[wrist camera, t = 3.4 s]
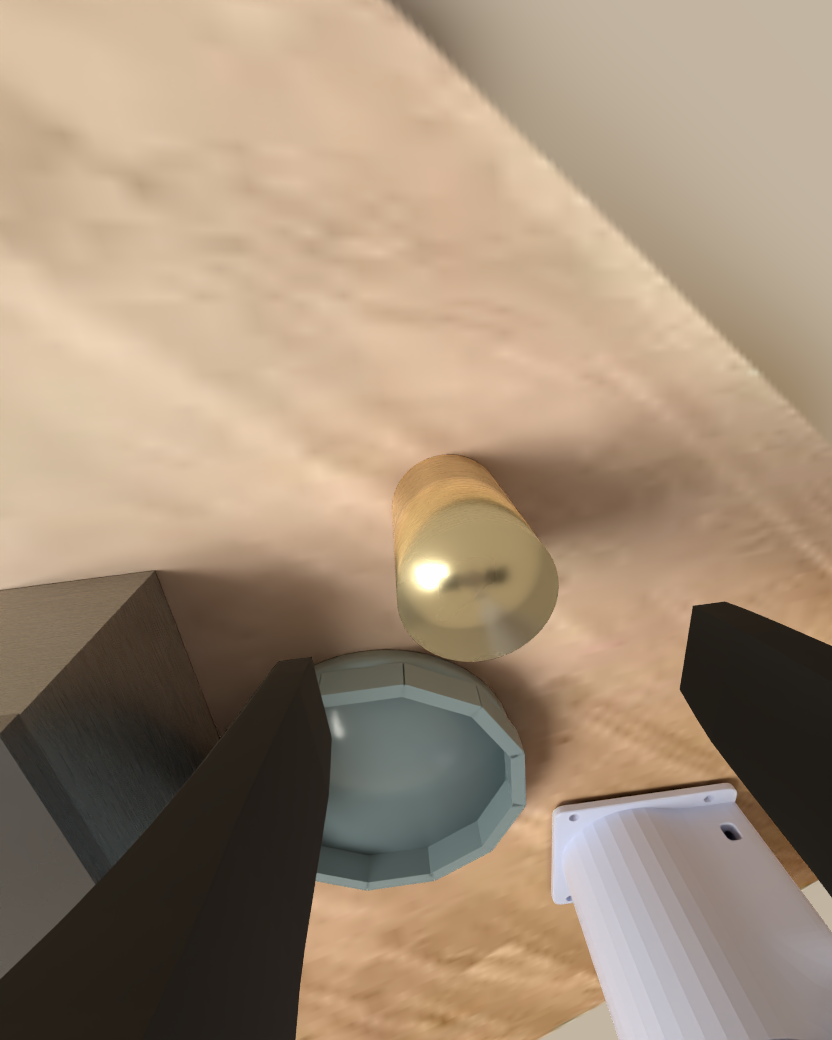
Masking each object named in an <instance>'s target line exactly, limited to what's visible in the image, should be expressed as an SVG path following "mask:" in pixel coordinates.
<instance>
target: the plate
mask: <svg viewBox="0 0 832 1040" xmlns="http://www.w3.org/2000/svg"><path fill="white" fill-rule="evenodd" d="M314 669H315V673H316V677H317V681H318V685H319V689H320V693H321V697H322V700H323V704H324V708H325V712H326V716H327V720H328V724H329V728H330V732H331V736H332V744H331V768H330V785H329V797H328V804H327V811H326V817H325V824H324V830H323V837H322V843H321V849H320V856H319V862H318V868H317V874H316V881H317V882H323V883H328V884H334V885H339V886H345V887H350V888H355V889H361V890H375V889H382V888H389V887H396V886H402V885H409V884H416V883H423V882H430V881H434V880H435V881H436V880H438V879H439V878H441V877H443V876H445V875H447V874H449V873H451V872H453V871H455V870H457V869H459V868H461V867H462V866H464V865H466V864H468V863H470V862H472V861H474V860H476V859H478V858H480V857H482V856H484V855H485V854H487V853H489V852H491V850H493V849H494V848H495V846H496V845H497V844H498V842H499V841H500V840H501V838H502V837H503V836H504V834H505V833H506V832H507V830H508V829H509V828H510V826H511V825H512V824H513V822H514V821H515V820H516V818H517V817H518V816H519V814H520V813H521V812H522V810H523V809H524V808H525V805H526V786H525V753H524V750H523V747H522V744H521V741H520V738H519V735H518V732H517V729H516V728H515V727H514V726H513V725H512V723H511V722H510V721H509V719H508V716H507V713H506V711H505V709H504V707H503V705H502V704H501V702H500V700H499V699H498V698H497V696H496V695H495V694H494V692H493V691H492V690H491V689H490V688H489V687H488V686H487V685H486V684H485V683H484V682H483V681H482V680H480V679H479V678H478V677H476V676H475V675H473V674H472V673H471V672H469V671H468V670H466V669H464V668H462V667H460V666H458V665H456V664H454V663H452V662H449V661H446V660H444V659H441V658H439V657H435V656H431V655H427V654H423V653H418V652H411V651H403V650H373V651H362V652H357V653H351V654H346V655H342V656H339V657H336V658H332V659H329V660H326V661H324V662H321V663H319V664H317V665H314Z"/></svg>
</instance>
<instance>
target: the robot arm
mask: <svg viewBox="0 0 832 1040" xmlns="http://www.w3.org/2000/svg"><path fill="white" fill-rule="evenodd" d="M680 691H681V692H682V694H683V696H684V698H685V699H686V701H687V703H688V704H689V706H690V708H691V710H692V711H693V713H694V715H695V717H696V718H697V720H698V721H699V723H700V725H701V726H702V728H703V729H704V731H705V732H706V734H707V736H708V737H709V739H710V740H711V742H712V743H713V744H714V746H715V747H716V748H717V750H718V751H719V752H720V754H721V755H722V756H723V758H724V759H725V760H726V762H727V763H728V764H729V765H730V767H731V768H732V769H733V771H734V772H735V773H736V775H737V776H738V777H739V778H740V780H741V781H742V782H743V784H744V785H745V786H746V787H747V789H748V790H749V791H750V793H751V794H752V795H753V796H754V798H755V799H756V800H757V801H758V803H759V804H760V805H761V807H762V808H763V809H764V810H765V812H766V813H767V814H768V815H769V817H770V818H771V819H772V821H773V822H774V823H775V824H776V826H777V827H778V828H779V829H780V831H781V832H782V833H783V835H784V836H785V837H786V838H787V840H788V841H789V842H790V843H791V845H792V846H793V847H794V849H795V850H796V851H797V852H798V854H799V855H800V856H801V857H802V859H803V860H804V861H805V863H806V864H807V865H808V866H809V868H810V869H811V870H812V871H813V873H814V874H815V875H816V877H817V878H818V880H819V881H820V882H821V884H822V885H823V886H824V887H825V889H826V890H827V891H828V893H829V894H830V896H831V897H832V646H830V645H828V644H826V643H824V642H821V641H819V640H817V639H814V638H812V637H810V636H808V635H805V634H803V633H801V632H798V631H796V630H794V629H791V628H789V627H787V626H784V625H782V624H780V623H778V622H775V621H773V620H770V619H768V618H766V617H763V616H761V615H759V614H756V613H754V612H751V611H749V610H746V609H744V608H741V607H738V606H736V605H733V604H730V603H727V602H719V603H711V604H704V605H696V606H693V609H692V615H691V622H690V628H689V634H688V641H687V647H686V653H685V660H684V666H683V672H682V678H681V685H680ZM331 744H332V736H331V732H330V728H329V724H328V720H327V716H326V712H325V708H324V704H323V700H322V697H321V693H320V689H319V685H318V681H317V677H316V673H315V669H314V665H313V661H312V657H308V658H300V659H293V660H285V661H279V662H278V663H277V664H276V665H275V667H274V668H273V669H272V671H271V672H270V673H269V674H268V676H267V677H266V678H265V680H264V681H263V683H262V684H261V685H260V687H259V688H258V689H257V691H256V692H255V693H254V695H253V696H252V698H251V699H250V700H249V702H248V703H247V704H246V706H245V707H244V708H243V710H242V711H241V712H240V714H239V715H238V716H237V718H236V719H235V720H234V722H233V723H232V724H231V726H230V727H229V728H228V730H227V731H226V732H225V734H224V735H223V736H222V737H221V739H220V740H219V741H218V743H217V744H216V745H215V746H214V748H213V749H212V750H211V752H210V753H209V754H208V755H207V757H206V758H205V759H204V761H203V762H202V763H201V764H200V766H199V767H198V768H197V769H196V771H195V772H194V773H193V774H192V776H191V777H190V778H189V779H188V780H187V782H186V783H185V784H184V785H183V786H182V787H181V789H180V790H179V791H178V792H177V793H176V795H175V796H174V797H173V798H172V799H171V801H170V802H169V803H168V804H167V805H166V807H165V808H164V809H163V810H162V811H161V812H160V814H159V815H158V816H157V817H156V818H155V820H154V821H153V822H152V823H151V824H150V825H149V827H148V828H147V829H146V830H145V831H144V832H143V833H142V835H141V836H140V837H139V838H138V839H137V840H136V841H135V842H134V844H133V845H132V846H131V847H130V848H129V849H128V850H127V851H126V852H125V854H124V855H123V856H122V857H121V858H120V859H119V860H118V861H117V862H116V863H115V864H114V866H113V867H112V868H111V869H110V870H109V871H108V872H107V873H106V874H105V875H104V876H103V877H102V878H101V879H100V880H99V881H98V882H97V884H96V885H95V886H94V887H93V888H92V889H91V890H90V891H89V892H88V893H87V894H86V895H85V896H84V897H83V898H82V899H81V900H80V901H79V902H78V903H77V905H76V906H75V907H74V908H73V909H72V910H71V911H70V912H69V913H68V914H67V915H66V916H65V917H64V918H63V919H62V920H61V921H60V922H59V923H58V924H57V925H56V926H55V927H54V928H53V929H52V930H51V931H50V932H48V933H47V934H46V935H45V936H44V937H43V938H42V939H41V940H40V941H39V942H38V943H37V944H36V945H35V946H34V947H33V948H32V949H31V950H30V951H29V952H28V953H27V954H26V955H25V956H24V957H23V958H22V959H21V960H19V961H18V962H17V963H16V964H15V965H14V966H13V967H12V968H11V969H10V970H9V971H8V972H7V973H6V974H5V975H4V976H3V977H2V978H1V979H0V1040H295V1038H296V1026H297V1014H298V1002H299V991H300V982H301V974H302V966H303V958H304V950H305V943H306V937H307V931H308V925H309V918H310V912H311V906H312V899H313V893H314V887H315V881H316V874H317V868H318V862H319V856H320V849H321V843H322V837H323V830H324V824H325V817H326V811H327V804H328V797H329V785H330V768H331ZM736 796H737V791H736V789H735V788H734V787H733V786H732V784H730V783H720V784H713V785H706V786H698V787H691V788H684V789H677V790H670V791H663V792H656V793H649V794H642V795H635V796H628V797H621V798H613V799H606V800H599V801H592V802H585V803H578V804H571V805H564V806H559V807H557V808H555V810H554V811H553V814H552V877H551V895H552V898H553V901H554V902H555V903H556V904H567V903H574V906H575V909H576V912H577V915H578V918H579V921H580V924H581V927H582V930H583V933H584V936H585V939H586V942H587V945H588V949H589V952H590V955H591V958H592V961H593V964H594V967H595V970H596V973H597V976H598V979H599V982H600V985H601V988H602V991H603V994H604V997H605V1000H606V1003H607V1006H608V1009H609V1012H610V1015H611V1018H612V1021H613V1024H614V1027H615V1030H616V1033H617V1036H618V1039H619V1040H832V932H831V931H830V929H829V928H828V926H827V925H826V924H825V922H824V921H823V920H822V918H821V917H820V916H819V914H818V913H817V912H816V910H815V909H814V908H813V906H812V905H811V904H810V902H809V901H808V899H807V898H806V897H805V895H804V894H803V893H802V891H801V890H800V889H799V887H798V886H797V885H796V883H795V882H794V881H793V879H792V878H791V877H790V875H789V874H788V872H787V871H786V870H785V868H784V867H783V866H782V864H781V863H780V862H779V860H778V859H777V858H776V856H775V855H774V854H773V852H772V851H771V850H770V848H769V847H768V846H767V844H766V843H765V842H764V840H763V839H762V837H761V836H760V835H759V833H758V832H757V831H756V829H755V828H754V827H753V825H752V824H751V823H750V821H749V820H748V819H747V817H746V816H745V815H744V813H743V812H742V811H741V809H740V808H739V807H738V805H737V804H736V803H735V800H736Z"/></svg>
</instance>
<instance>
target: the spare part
mask: <svg viewBox="0 0 832 1040" xmlns="http://www.w3.org/2000/svg"><path fill="white" fill-rule="evenodd" d="M392 515H393V534H394V552H395V570H396V588H397V605H398V611H399V615H400V618H401V621H402V623H403V625H404V627H405V629H406V630H407V632H408V633H409V635H410V636H411V637H412V638H413V639H414V640H415V641H416V642H417V643H418V644H419V645H420V646H422V647H423V648H424V649H426V650H427V651H429V652H431V653H433V654H435V655H437V656H440V657H443V658H446V659H450V660H455V661H462V662H477V661H485V660H491V659H495V658H498V657H501V656H504V655H506V654H509V653H511V652H513V651H515V650H517V649H519V648H520V647H522V646H523V645H525V644H526V643H528V642H529V641H530V640H531V639H532V638H534V637H535V636H536V635H537V634H538V633H539V631H540V630H541V629H542V628H543V627H544V625H545V624H546V623H547V621H548V620H549V618H550V616H551V614H552V612H553V610H554V607H555V604H556V600H557V596H558V587H559V585H558V575H557V570H556V567H555V564H554V562H553V559H552V558H551V556H550V554H549V552H548V551H547V550H546V548H545V547H544V546H543V544H542V543H541V541H540V540H539V539H538V537H537V536H536V535H535V533H534V532H533V531H532V529H531V528H530V527H529V525H528V524H527V522H526V521H525V520H524V518H523V517H522V516H521V514H520V513H519V512H518V510H517V509H516V508H515V506H514V505H513V504H512V502H511V501H510V499H509V498H508V497H507V495H506V494H505V493H504V491H503V490H502V489H501V487H500V486H499V485H498V483H497V482H496V481H495V479H494V478H493V476H492V475H491V474H490V473H489V472H488V470H487V469H485V468H484V467H483V466H482V465H481V464H479V463H478V462H476V461H474V460H472V459H470V458H467V457H464V456H459V455H439V456H434V457H431V458H428V459H426V460H424V461H422V462H420V463H418V464H417V465H415V466H414V467H413V468H411V469H410V470H409V471H408V472H407V473H406V474H405V475H404V476H403V478H402V479H401V481H400V482H399V484H398V486H397V488H396V491H395V493H394V497H393V502H392Z"/></svg>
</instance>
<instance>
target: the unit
mask: <svg viewBox="0 0 832 1040" xmlns="http://www.w3.org/2000/svg"><path fill="white" fill-rule="evenodd" d="M219 740H220V738H219V736H218V733H217V731H216V728H215V725H214V723H213V720H212V718H211V715H210V712H209V710H208V707H207V705H206V702H205V699H204V697H203V694H202V692H201V689H200V687H199V684H198V681H197V679H196V676H195V674H194V671H193V668H192V666H191V663H190V661H189V658H188V655H187V653H186V650H185V648H184V645H183V643H182V640H181V637H180V635H179V632H178V630H177V627H176V624H175V622H174V619H173V617H172V614H171V611H170V609H169V606H168V604H167V601H166V599H165V596H164V593H163V591H162V588H161V586H160V583H159V580H158V578H157V575H156V573H155V571H148V572H140V573H133V574H125V575H117V576H109V577H101V578H94V579H86V580H78V581H70V582H63V583H55V584H47V585H39V586H32V587H24V588H16V589H8V590H0V979H1V978H2V977H3V976H4V975H5V974H6V973H7V972H8V971H9V970H10V969H11V968H12V967H13V966H14V965H15V964H16V963H17V962H18V961H19V960H21V959H22V958H23V957H24V956H25V955H26V954H27V953H28V952H29V951H30V950H31V949H32V948H33V947H34V946H35V945H36V944H37V943H38V942H39V941H40V940H41V939H42V938H43V937H44V936H45V935H46V934H47V933H48V932H50V931H51V930H52V929H53V928H54V927H55V926H56V925H57V924H58V923H59V922H60V921H61V920H62V919H63V918H64V917H65V916H66V915H67V914H68V913H69V912H70V911H71V910H72V909H73V908H74V907H75V906H76V905H77V903H78V902H79V901H80V900H81V899H82V898H83V897H84V896H85V895H86V894H87V893H88V892H89V891H90V890H91V889H92V888H93V887H94V886H95V885H96V884H97V882H98V881H99V880H100V879H101V878H102V877H103V876H104V875H105V874H106V873H107V872H108V871H109V870H110V869H111V868H112V867H113V866H114V864H115V863H116V862H117V861H118V860H119V859H120V858H121V857H122V856H123V855H124V854H125V852H126V851H127V850H128V849H129V848H130V847H131V846H132V845H133V844H134V842H135V841H136V840H137V839H138V838H139V837H140V836H141V835H142V833H143V832H144V831H145V830H146V829H147V828H148V827H149V825H150V824H151V823H152V822H153V821H154V820H155V818H156V817H157V816H158V815H159V814H160V812H161V811H162V810H163V809H164V808H165V807H166V805H167V804H168V803H169V802H170V801H171V799H172V798H173V797H174V796H175V795H176V793H177V792H178V791H179V790H180V789H181V787H182V786H183V785H184V784H185V783H186V782H187V780H188V779H189V778H190V777H191V776H192V774H193V773H194V772H195V771H196V769H197V768H198V767H199V766H200V764H201V763H202V762H203V761H204V759H205V758H206V757H207V755H208V754H209V753H210V752H211V750H212V749H213V748H214V746H215V745H216V744H217V743H218V741H219Z"/></svg>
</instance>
